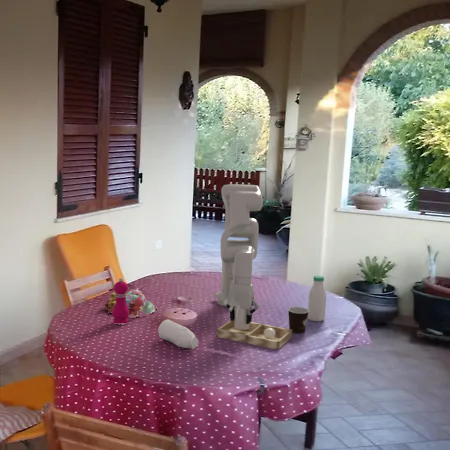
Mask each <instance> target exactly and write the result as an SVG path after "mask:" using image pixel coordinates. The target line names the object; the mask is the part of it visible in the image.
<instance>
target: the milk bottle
mask: <svg viewBox="0 0 450 450" xmlns="http://www.w3.org/2000/svg"><path fill="white" fill-rule="evenodd" d="M324 281H325V277H324V276H323V275H314V276H313V283H312V284H313V285H312V287H311V289H310V290H309V295H308V303H307V304H308V306H307V309H308V310H309V313H308V318H307V320H309V321H311V322H323V321H324V320H325V318H326V305H327V304H326V302H327V292H326V290H325V285H324Z"/></svg>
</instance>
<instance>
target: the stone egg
mask: <svg viewBox="0 0 450 450" xmlns="http://www.w3.org/2000/svg"><path fill="white" fill-rule="evenodd" d="M275 335H276V334H275V331H274V330H273V329H272V328H267V329H266V330H265V331H264V337H265V338H266V339H270V340H272V339H274V338H275Z"/></svg>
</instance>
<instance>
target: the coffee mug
mask: <svg viewBox="0 0 450 450" xmlns="http://www.w3.org/2000/svg"><path fill="white" fill-rule="evenodd" d="M287 312H288V326H289V328H288V329H291V330H293V331H292V334H298V335H300V334H304V333H305V332H306V328H307V327H306V326H307V322H308V313H309V310H308V308H305V307H300V306H292V307H289V308H288V310H287Z"/></svg>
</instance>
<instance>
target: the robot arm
mask: <svg viewBox="0 0 450 450" xmlns="http://www.w3.org/2000/svg"><path fill="white" fill-rule="evenodd" d="M220 190H221V191H220V193H221V198H222V201H223V204H224V208H225V216H224V217H225V218H224V219H225V220H224V231H223V232H222V235H221V237H220V243H219V244H220V258H221V283H220V285H221V287H220V288H221V290H220V292H213V297H214V298H218V300H217V304H218V305H219V306H222V307H226V308H227V309H228V312H229V321H233V320H234V318H235V307H237V306H238V305H239V306H240V308H243V309H246V310H247V312H248V314H247V319H246V324H249V323H250V322H252V321H253V313H255V312H256V311H258V309H259V308H260V305H259V303H258V302H257V301H256V300H255V290H254V289H255V288H254V284H253V282H252V281H253V280H252V278H253V276H252V275H253V262H254V260H255V259H256V258H257V257H258V250H259V249H258V248H259V230H260V229H259V222H258V221H257V219H255V218H253V217H250V211H252V212H259V211H261V210H262V209H263V205H264V203H263V202H264V200H263V194H262V192H261V189H260V187H259V185H255V184H241V183H239V184H237V183H234V184H233V183H232V184H231V183H230V184H224V185H223V186H222V187H221V189H220ZM229 238H234V239H229ZM235 238H236V239H235ZM237 238H240V239H237ZM253 307H254V308H253Z"/></svg>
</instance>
